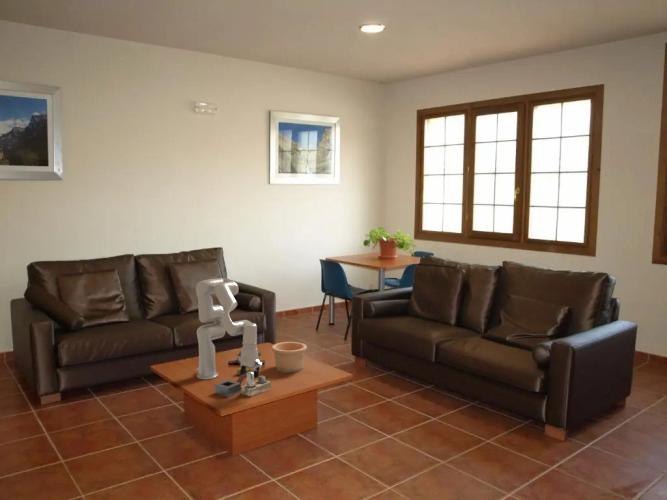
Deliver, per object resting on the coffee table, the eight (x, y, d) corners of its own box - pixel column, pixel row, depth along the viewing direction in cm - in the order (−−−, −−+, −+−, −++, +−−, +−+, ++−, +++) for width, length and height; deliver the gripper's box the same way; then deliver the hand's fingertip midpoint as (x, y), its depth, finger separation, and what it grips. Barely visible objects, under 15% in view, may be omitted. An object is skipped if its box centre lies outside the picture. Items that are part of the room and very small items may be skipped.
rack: (240, 393, 318) (240, 381, 317) (260, 385, 330) (260, 374, 330) (251, 396, 313) (251, 384, 312) (271, 388, 326) (271, 376, 325)
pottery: (265, 368, 363) (264, 345, 361) (292, 361, 377) (292, 339, 376) (285, 376, 347) (285, 353, 345) (313, 369, 361) (313, 346, 360)
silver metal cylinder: (245, 393, 318) (244, 372, 316) (250, 391, 321) (250, 370, 320) (250, 395, 315) (250, 374, 314) (255, 393, 319) (255, 372, 317)
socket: (215, 393, 318) (214, 384, 318) (228, 388, 326) (228, 379, 326) (227, 397, 312) (227, 388, 312) (240, 392, 320) (240, 383, 320)
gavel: (245, 380, 330) (228, 380, 331) (245, 388, 331) (229, 387, 332) (254, 367, 351) (238, 366, 352) (254, 374, 351) (239, 373, 352)
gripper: (233, 344, 317) (233, 373, 319) (256, 350, 307) (256, 380, 309) (243, 341, 323) (243, 370, 325) (266, 346, 313) (266, 377, 315)
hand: (249, 375), depth 317 cm, fingers open, 9 cm apart
